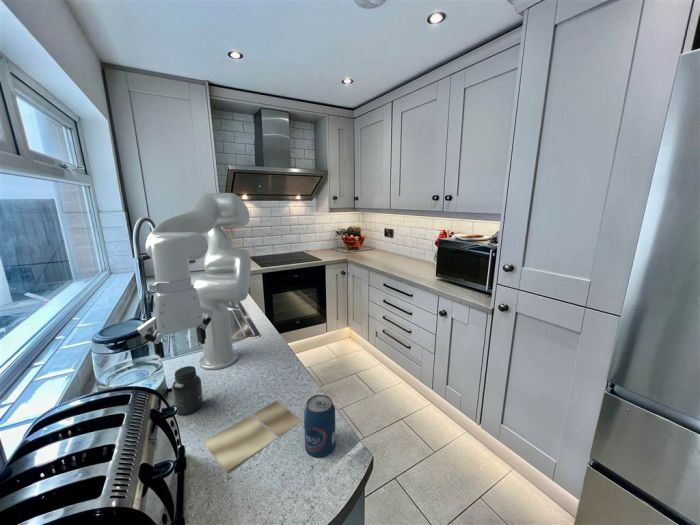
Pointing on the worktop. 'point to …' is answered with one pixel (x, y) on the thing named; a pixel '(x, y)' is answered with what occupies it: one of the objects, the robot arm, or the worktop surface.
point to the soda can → (319, 426)
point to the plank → (239, 442)
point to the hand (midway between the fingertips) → (182, 349)
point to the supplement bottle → (187, 391)
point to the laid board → (277, 418)
